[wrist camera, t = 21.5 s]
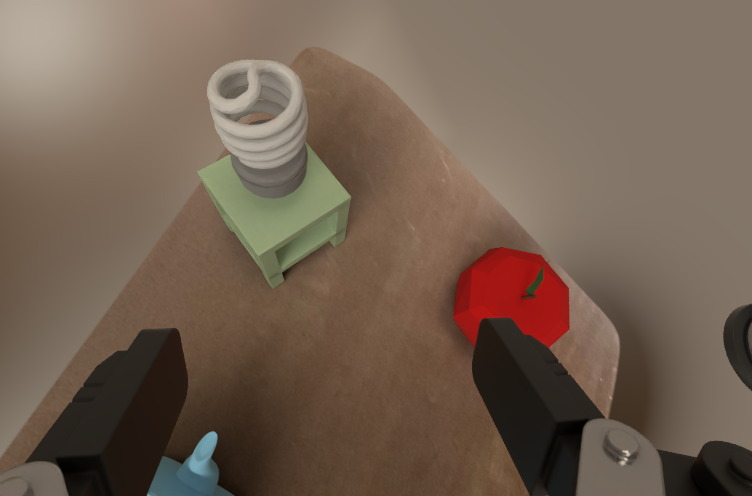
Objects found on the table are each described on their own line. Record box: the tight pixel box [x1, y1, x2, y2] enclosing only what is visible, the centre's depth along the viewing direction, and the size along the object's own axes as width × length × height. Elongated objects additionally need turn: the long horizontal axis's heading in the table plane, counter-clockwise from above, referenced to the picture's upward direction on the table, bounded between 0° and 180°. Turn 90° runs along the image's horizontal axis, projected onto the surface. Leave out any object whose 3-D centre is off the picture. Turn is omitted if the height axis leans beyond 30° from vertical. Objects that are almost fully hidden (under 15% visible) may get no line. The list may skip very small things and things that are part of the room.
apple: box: [453, 247, 569, 348], centre depth 37 cm, size 11×11×10 cm
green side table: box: [197, 141, 351, 289], centre depth 37 cm, size 9×9×10 cm
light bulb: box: [207, 59, 308, 199], centre depth 27 cm, size 6×6×12 cm
